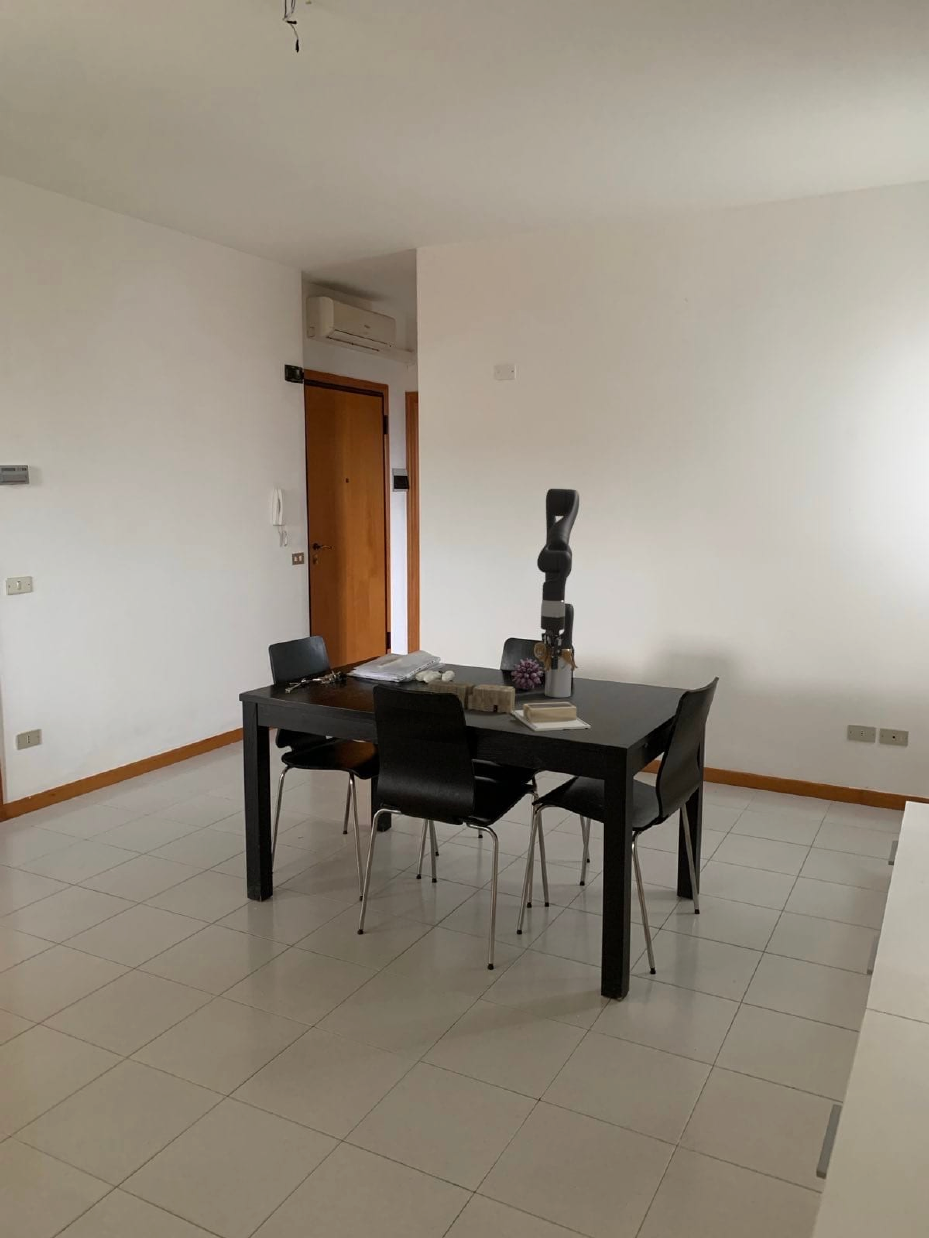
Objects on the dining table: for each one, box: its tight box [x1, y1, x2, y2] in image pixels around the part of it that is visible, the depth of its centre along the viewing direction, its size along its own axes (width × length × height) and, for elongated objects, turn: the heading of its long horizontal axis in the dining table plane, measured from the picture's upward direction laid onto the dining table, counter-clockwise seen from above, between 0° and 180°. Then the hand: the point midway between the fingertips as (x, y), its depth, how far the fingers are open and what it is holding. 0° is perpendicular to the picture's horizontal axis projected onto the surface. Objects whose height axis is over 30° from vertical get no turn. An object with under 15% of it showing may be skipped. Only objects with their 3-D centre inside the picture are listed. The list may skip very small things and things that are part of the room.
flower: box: [511, 657, 544, 691], centre depth 335 cm, size 12×12×12 cm
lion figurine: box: [533, 641, 579, 672], centre depth 287 cm, size 15×5×9 cm, turn 103°
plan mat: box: [510, 709, 591, 732], centre depth 290 cm, size 24×18×1 cm
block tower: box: [427, 678, 516, 714], centre depth 306 cm, size 8×8×29 cm
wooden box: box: [522, 701, 578, 722], centre depth 289 cm, size 8×15×4 cm, turn 105°
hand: (551, 667), depth 288 cm, fingers closed on lion figurine, 4 cm apart
